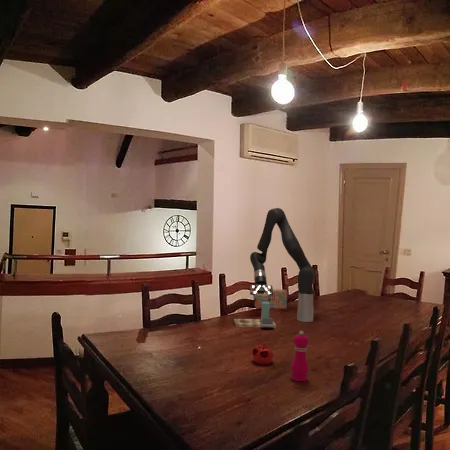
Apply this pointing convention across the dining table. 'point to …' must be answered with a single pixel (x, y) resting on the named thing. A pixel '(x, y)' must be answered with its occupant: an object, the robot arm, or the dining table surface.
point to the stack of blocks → (273, 299)
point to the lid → (267, 322)
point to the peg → (265, 310)
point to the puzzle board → (249, 323)
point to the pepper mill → (300, 358)
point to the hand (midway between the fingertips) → (262, 300)
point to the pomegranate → (262, 354)
